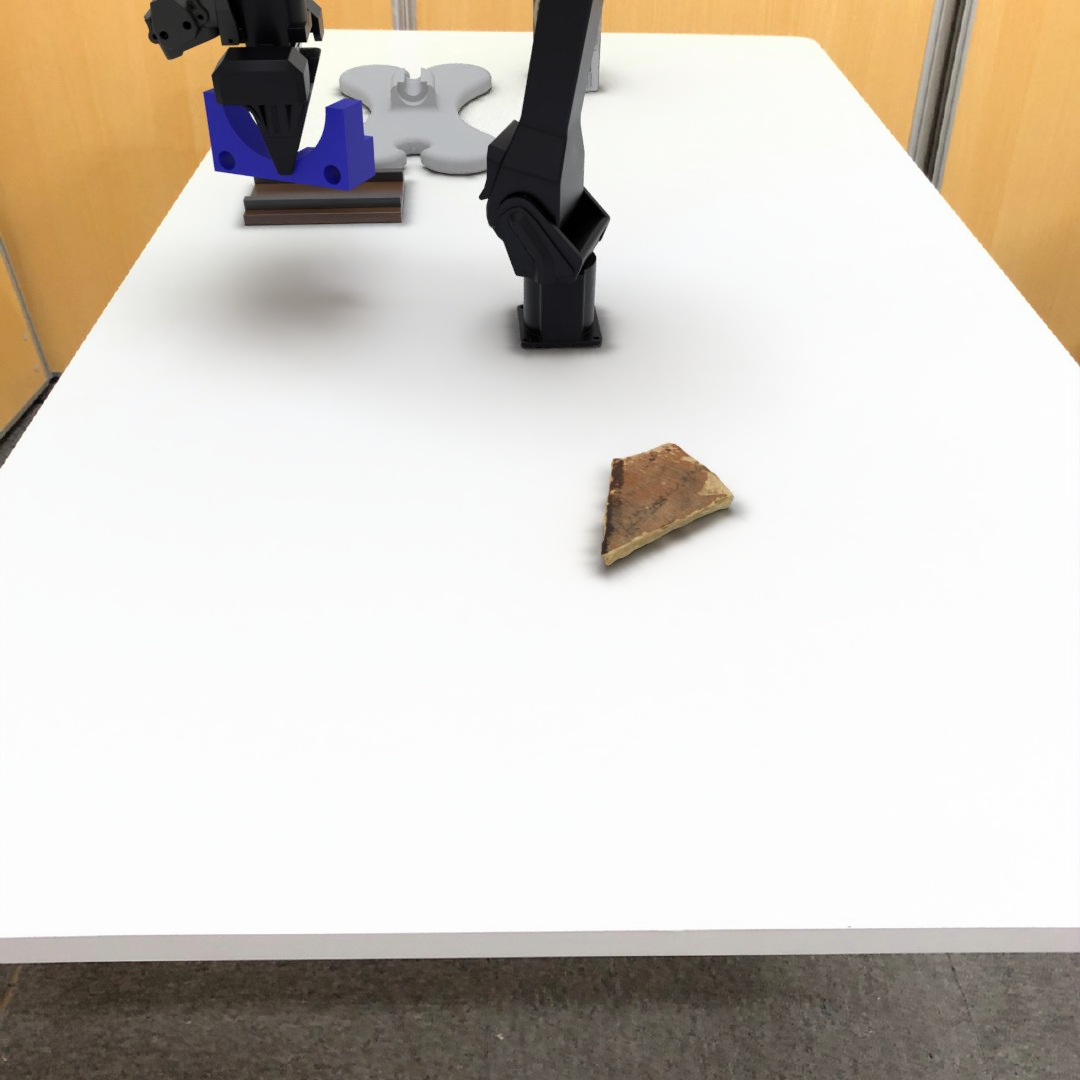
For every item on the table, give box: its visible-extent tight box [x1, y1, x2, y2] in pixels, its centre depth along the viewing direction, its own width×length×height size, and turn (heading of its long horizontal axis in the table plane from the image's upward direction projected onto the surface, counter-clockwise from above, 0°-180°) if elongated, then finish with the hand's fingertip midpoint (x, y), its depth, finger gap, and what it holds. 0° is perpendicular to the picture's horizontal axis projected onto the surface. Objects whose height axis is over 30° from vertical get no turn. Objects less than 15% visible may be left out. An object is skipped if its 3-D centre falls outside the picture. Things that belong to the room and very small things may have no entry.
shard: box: [600, 442, 735, 566], centre depth 68 cm, size 11×8×2 cm
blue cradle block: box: [202, 87, 375, 191], centre depth 83 cm, size 12×4×6 cm, turn 71°
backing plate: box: [242, 167, 406, 226], centre depth 105 cm, size 10×15×2 cm, turn 94°
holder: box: [338, 62, 496, 175], centre depth 123 cm, size 19×34×5 cm, turn 5°
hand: (288, 162), depth 84 cm, fingers closed on blue cradle block, 5 cm apart
